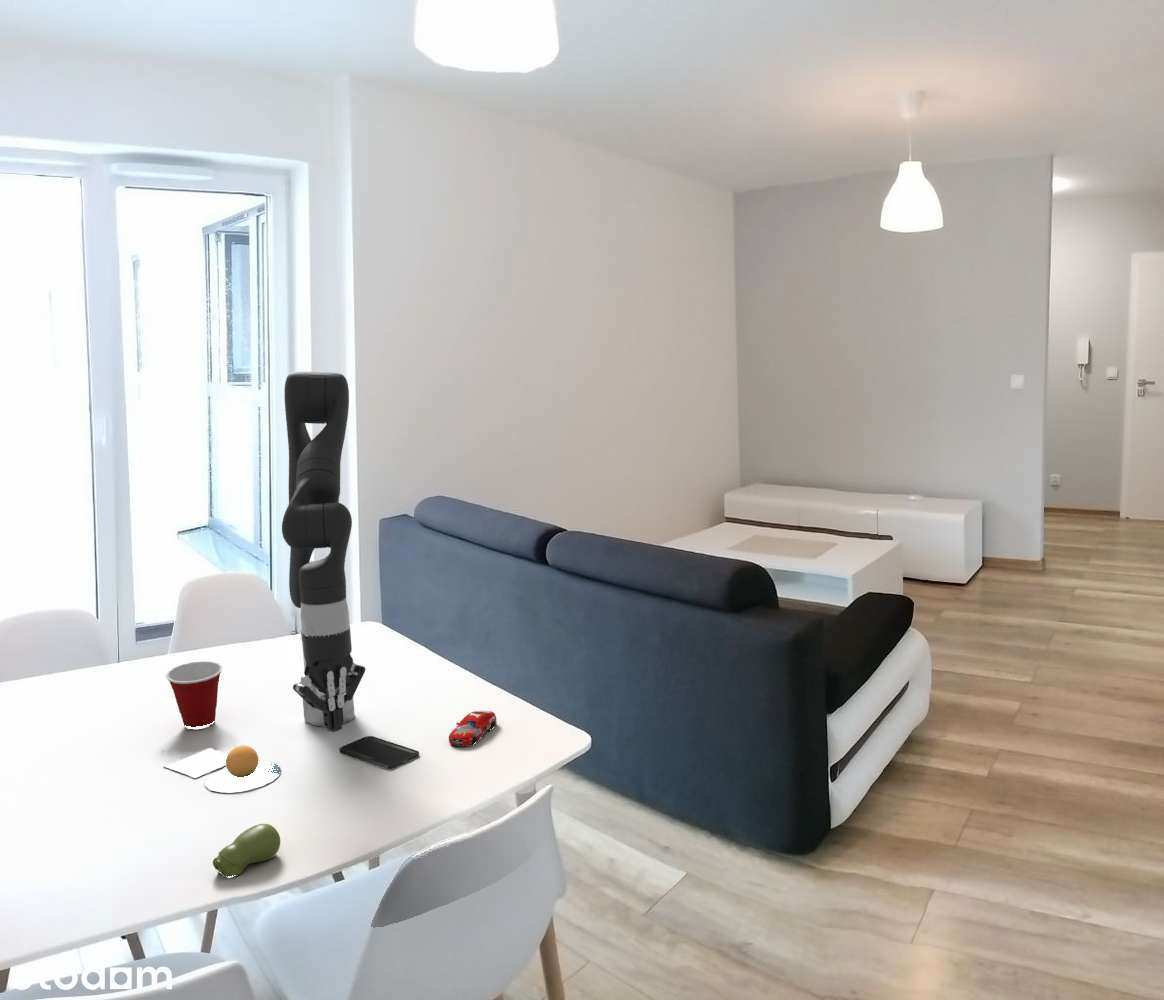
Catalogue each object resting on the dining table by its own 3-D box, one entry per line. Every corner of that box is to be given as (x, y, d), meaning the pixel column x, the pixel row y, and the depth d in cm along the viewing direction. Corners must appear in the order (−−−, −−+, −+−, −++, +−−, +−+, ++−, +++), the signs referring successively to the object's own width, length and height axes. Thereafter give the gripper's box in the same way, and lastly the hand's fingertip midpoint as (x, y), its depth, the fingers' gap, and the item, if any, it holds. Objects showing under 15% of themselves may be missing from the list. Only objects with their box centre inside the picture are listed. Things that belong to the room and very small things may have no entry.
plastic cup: (172, 739, 197) (165, 681, 195) (170, 721, 207) (164, 666, 205) (230, 729, 202) (224, 672, 200) (225, 712, 211) (220, 657, 209)
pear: (282, 824, 148) (220, 860, 142) (290, 854, 150) (229, 892, 143) (263, 812, 152) (202, 847, 146) (272, 842, 154) (211, 878, 147)
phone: (368, 735, 194) (421, 752, 185) (369, 740, 194) (422, 757, 185) (336, 748, 188) (389, 767, 179) (336, 754, 188) (389, 773, 179)
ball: (220, 750, 176) (238, 774, 174) (248, 734, 179) (265, 758, 178) (219, 764, 180) (235, 787, 178) (246, 748, 183) (262, 771, 182)
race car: (469, 751, 187) (467, 731, 186) (444, 748, 189) (442, 728, 188) (501, 725, 199) (500, 706, 198) (477, 722, 201) (476, 703, 200)
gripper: (345, 614, 166) (353, 712, 169) (276, 633, 157) (285, 738, 159) (373, 620, 162) (381, 722, 164) (304, 641, 152) (313, 749, 154)
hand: (334, 729), depth 162 cm, fingers closed
